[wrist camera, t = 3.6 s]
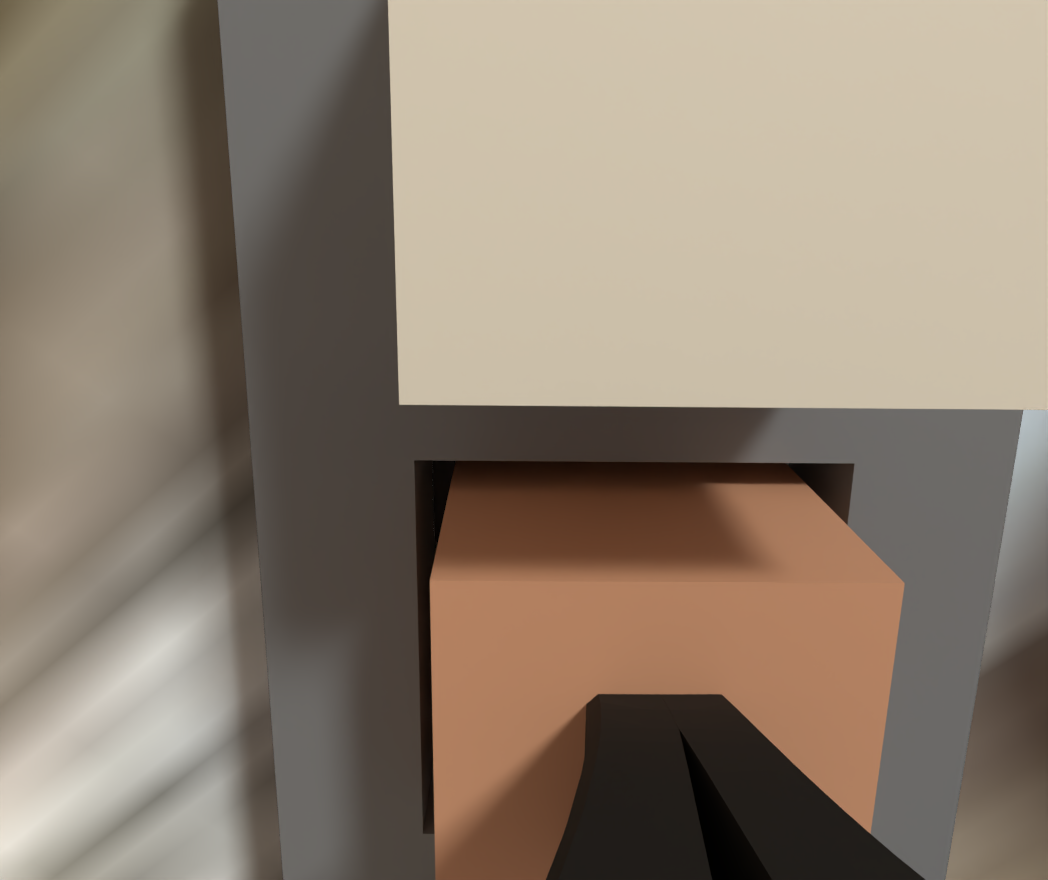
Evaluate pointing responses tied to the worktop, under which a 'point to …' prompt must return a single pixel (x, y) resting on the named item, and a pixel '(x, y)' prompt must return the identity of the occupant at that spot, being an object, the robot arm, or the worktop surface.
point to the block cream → (721, 203)
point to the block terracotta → (641, 634)
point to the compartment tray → (506, 435)
